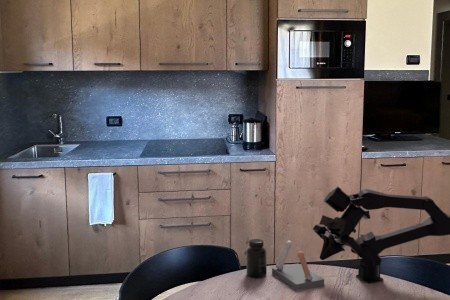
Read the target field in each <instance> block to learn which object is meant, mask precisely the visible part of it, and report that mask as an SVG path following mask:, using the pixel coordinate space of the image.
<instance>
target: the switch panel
mask: <svg viewBox="0 0 450 300" xmlns="http://www.w3.org/2000/svg"><path fill="white" fill-rule="evenodd" d="M309 271H310V274H311V276H312V277H313V279H312V280H311V281H309V280H308V279H306V278H305V277H304V275H305V274H304V271H303V268H302V265H301V263H293V264H287V265H283V270H279V269H278V268H276V266H275V267H272V268H271V274H272V275H273V276H275V277H277V278H278V279H279V280H281V281H282V282H283V283H285V284H286V285H287V286H289V287H290V288H292V289H293V290H294V291H296V292H297V291H301V290H305V289H311V288H317V287H322V286H325V278H323V277H322V276H320V275H318V274H317V273H316V272H313V271H311V270H310V269H309Z"/></svg>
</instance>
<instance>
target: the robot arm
mask: <svg viewBox="0 0 450 300" xmlns="http://www.w3.org/2000/svg"><path fill="white" fill-rule="evenodd" d="M323 202H324V203H325V204H326V205H328V207H330V208H331V209H332V210H333V211H335V212H336V213H339V212H340V213H342V214H341V216H340V217H339V216H335V217H334V218H331V217H329V216H326V215H324V214H322V215H321V218H320V221H319V223H318V224H315V225H314V226H313V227H312V230H313V232H314V233H315V234H316V235H318V237H319V238H320V239H322V240H323V244H322V248H321V250H320V254H319V256H318V257H319V260H321V261H324V260H327V259H328V258H330V257H332V256H334V255H337V254H339V253H341V252H345V251H346V249H345V248H346V247H348V248H350V252H351V253H353V254H355V255H358V257H359V258H361V259H360V260H359V264H358V274H355V277H356V278H357V279H360V280H361V281H363V282H365V283H367V284H371V283H376V282H382V281H384V278H383V277H381V262H382V261H383V260H382V258H381V256H380V254H381V253H382V252H384V251H385V250H387V249H389V248H392V247H393V248H394V247H396V246H399V245H403V244H406V243H409V242H413V241H416V240H419V239H422V238H426V237H443V236H450V214H448V213H446V212H444V211H443V210H442V209H441V208H440V207H439V206H438V205H437V203H435V201H434V200H433V199H432V198H431V197H429V196H418V195H417V196H416V195H400V194H387V193H384V192H380V191H377V190H372V189H368V188H363V189H361V190H360V191H359V192H358V193H353V194H347V193H346V192H344V190H342V188H341V187H339V186H336V187H335V188H334V189H332V190H331V191H330V192H329V193H327V194H326V196H325V197H324V199H323ZM385 208H387V209H388V208H391V209H392V208H394V209H405V210H406V209H407V210H422V211H425V212H426V213H427V214H428V216H429V217H428V218H426V219H425V220H424V221H422V222H421V223H417V224H414V225H410V226H407V227H404V228H400V229H397V230H395V231H390V232H388V233H384V234H381V235H375V234H374V232H373V231H370V232H368V233H365V234H360V235H359V237H357V238H356V239H355V238H354V237H352V236H350V235H351V234H352V233H353V234H356V233H357V229H356V228H357V227H358V225H359V224H360V222H361V221H362V219H364V220H369V219H370V220H371V215H370V211H371V210H373V211H374V210H380V209H381V210H382V209H385Z"/></svg>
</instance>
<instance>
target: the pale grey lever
mask: <svg viewBox="0 0 450 300" xmlns="http://www.w3.org/2000/svg"><path fill="white" fill-rule="evenodd" d="M292 246H293V242H292V241H291V240H287V241H286V242H285V245H284V247H283V250H282V252H281V254H280V256H279V257H280V258H279V260H278V262H277V263H276V264H275V267H276V268H278V269H279V270H283V266H285V265H284V264H285V261H286V260H287V257H288V254H289V252H290V250H291V248H292Z"/></svg>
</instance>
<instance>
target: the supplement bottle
mask: <svg viewBox="0 0 450 300" xmlns="http://www.w3.org/2000/svg"><path fill="white" fill-rule="evenodd" d="M248 243H249V247H248V248H247V249H246V253H245V254H246V275H247V276H248V277H250V278H251V279H261V278H264V277H266V276H267V272H268V271H267V269H268V268H267V249H266V248H265V247H264V240H263V239H262V238H252V239H249V241H248Z"/></svg>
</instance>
